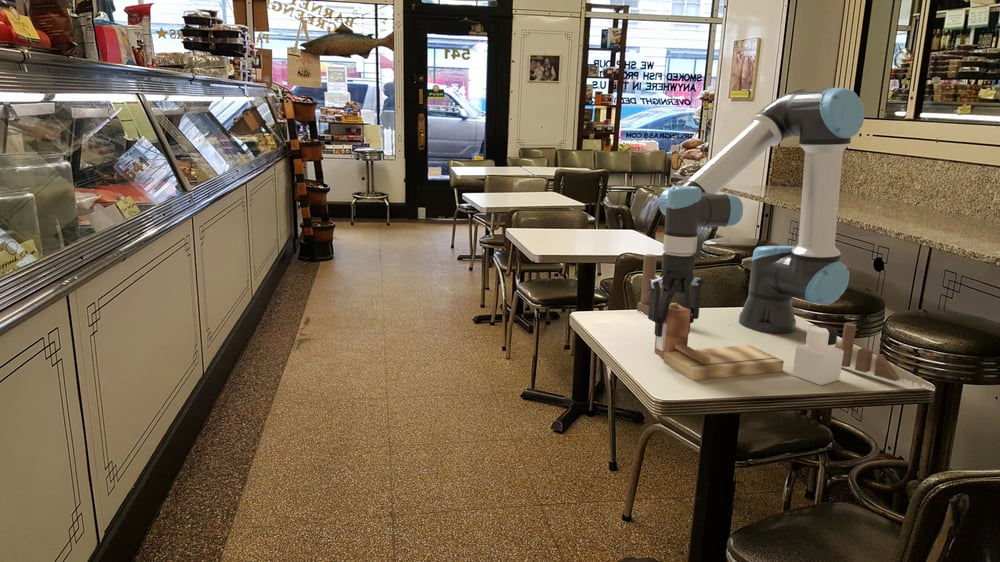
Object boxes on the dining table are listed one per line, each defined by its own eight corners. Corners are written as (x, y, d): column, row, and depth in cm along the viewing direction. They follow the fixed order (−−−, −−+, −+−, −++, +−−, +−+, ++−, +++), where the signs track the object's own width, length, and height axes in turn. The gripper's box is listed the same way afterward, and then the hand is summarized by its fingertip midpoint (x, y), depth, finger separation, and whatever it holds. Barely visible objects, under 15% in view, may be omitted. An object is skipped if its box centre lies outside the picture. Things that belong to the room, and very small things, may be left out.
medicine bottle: (810, 370, 158) (817, 320, 155) (840, 380, 152) (847, 328, 149) (791, 375, 154) (798, 324, 152) (821, 386, 148) (828, 333, 146)
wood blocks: (818, 360, 166) (824, 319, 163) (824, 358, 167) (829, 318, 165) (931, 393, 146) (940, 347, 144) (936, 390, 148) (944, 345, 146)
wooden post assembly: (662, 323, 193) (668, 260, 189) (636, 314, 202) (640, 254, 198) (672, 321, 195) (677, 260, 191) (645, 312, 204) (650, 253, 200)
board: (748, 354, 168) (749, 344, 167) (782, 371, 157) (783, 360, 156) (663, 362, 160) (664, 351, 160) (693, 380, 149) (694, 369, 149)
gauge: (672, 350, 168) (676, 300, 165) (714, 374, 153) (720, 319, 150) (654, 352, 167) (658, 301, 164) (695, 376, 151) (700, 320, 148)
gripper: (702, 249, 166) (693, 340, 171) (636, 251, 160) (629, 346, 165) (721, 254, 159) (712, 350, 164) (653, 257, 153) (645, 356, 158)
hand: (670, 348), depth 164 cm, fingers open, 5 cm apart
